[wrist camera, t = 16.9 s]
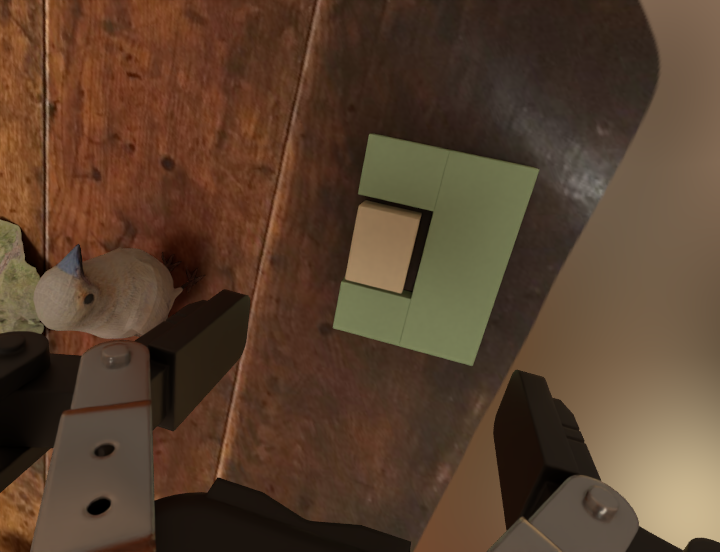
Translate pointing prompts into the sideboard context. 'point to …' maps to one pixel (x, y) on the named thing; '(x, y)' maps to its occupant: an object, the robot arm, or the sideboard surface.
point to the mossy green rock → (16, 284)
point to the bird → (108, 293)
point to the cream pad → (382, 245)
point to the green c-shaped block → (440, 246)
